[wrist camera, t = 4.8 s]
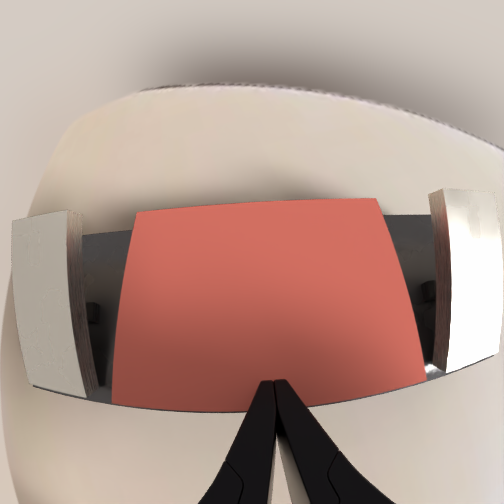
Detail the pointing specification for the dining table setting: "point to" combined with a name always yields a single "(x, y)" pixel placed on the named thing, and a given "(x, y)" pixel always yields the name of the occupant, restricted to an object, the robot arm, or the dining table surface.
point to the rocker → (262, 306)
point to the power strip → (100, 390)
